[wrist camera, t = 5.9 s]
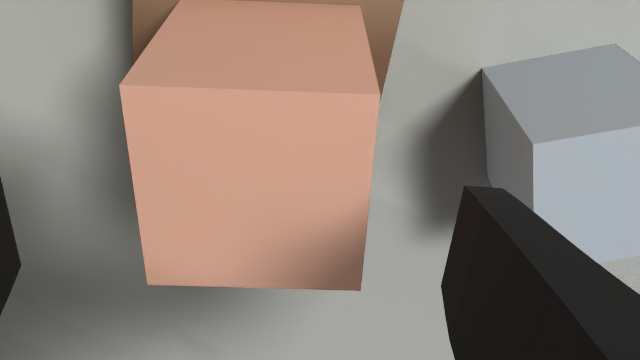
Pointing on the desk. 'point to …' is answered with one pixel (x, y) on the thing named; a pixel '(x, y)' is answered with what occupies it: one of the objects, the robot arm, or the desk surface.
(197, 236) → the terracotta block
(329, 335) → the desk surface
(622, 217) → the slate grey block
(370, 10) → the walnut base block
